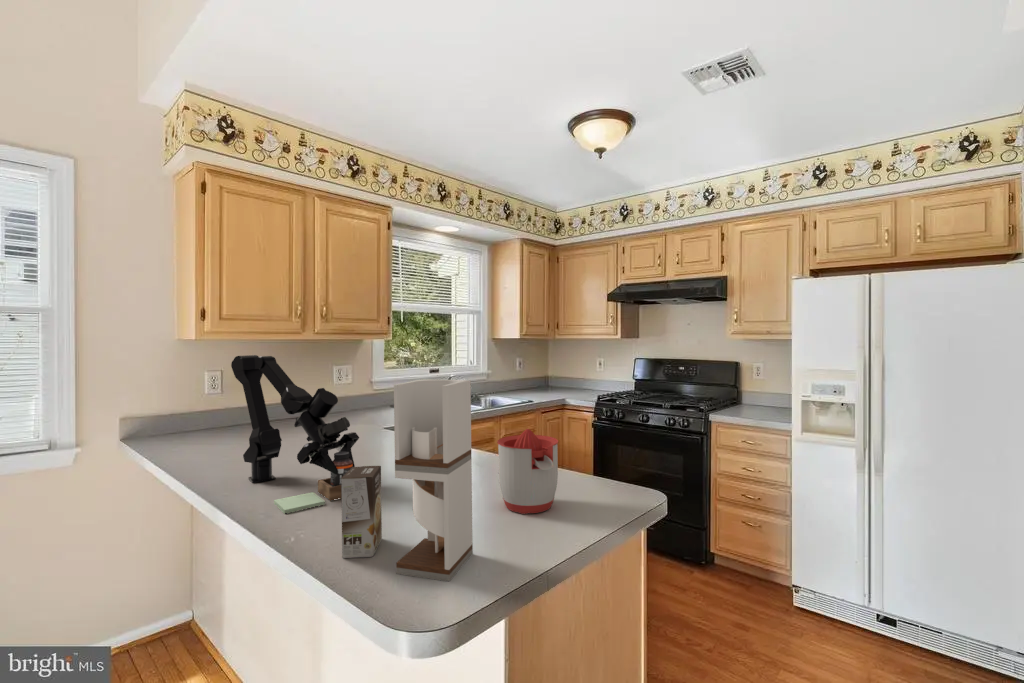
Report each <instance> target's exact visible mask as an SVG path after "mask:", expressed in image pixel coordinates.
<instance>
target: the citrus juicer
mask: <svg viewBox="0 0 1024 683" xmlns="http://www.w3.org/2000/svg"><path fill="white" fill-rule="evenodd" d="M497 444H498V446H497V448H498V481H499V482H498V483H499V490H500V492H501V497H502V500H503V503H504V506H505V507H506V508H507V510H509V511H512V512H516V513H519V514H521V515H526V514H536V513H542V512H546V511H547V510H549V509H551V507H552V504H553V502H554V500H555V495H556V491H557V486H558V477H559V476H558V475H559V471H558V470H559V469H558V468H559V467H558V464H559V463H558V462H559V461H558V444H559V440H558V439H557V438H555V437H552V436H548V435H539V434H535V433H534V432H533V431H532V430H531V429H530V428H526V429H525V430H524V431H523V432H521V434H517V435H516V434H515V435H508V436H504V437H501V438H499V439H498V440H497Z"/></svg>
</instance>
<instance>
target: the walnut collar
mask: <svg viewBox="0 0 1024 683" xmlns="http://www.w3.org/2000/svg"><path fill="white" fill-rule="evenodd" d="M341 491H342V488H341V485H338V486H333V487H332V486H331V477H327V478H323V479H317V493H318V492H319V493H320V495H321V494H322V495H323V496H322V495H321V496H322V497H324V496H325V497H326V498H328V499H329V500H330V501H329V500H328V499H327V500H328V501H329V502H332V501H331V500H334V499H338V498H342V492H341ZM319 493H318V494H319ZM325 497H324V498H325ZM326 498H325V499H326ZM334 501H335V500H334Z"/></svg>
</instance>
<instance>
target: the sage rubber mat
mask: <svg viewBox="0 0 1024 683" xmlns="http://www.w3.org/2000/svg"><path fill="white" fill-rule="evenodd" d="M273 504H274V506H276V505H277V506H276V507H277V508H278V509H279V510H280V512H282V513H283V514H284V515H286V514H285V513H287V514H290V513H289V512H292V513H296V512H299V511H298V510H301V511H303V510H302V509H305V510H307V509H306V508H310V509H312V508H311V507H314V508H316V507H315V506H318V507H320V506H319V505H323V506H325V505H326V500H324V499H323V498H322V497H320V496H319V495H318V494H316V493H315V492H313V491H312V492H307V493H302V494H298V495H293V496H287V497H283V498H278V499H274V500H273ZM324 504H325V505H324ZM295 511H296V512H295Z"/></svg>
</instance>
